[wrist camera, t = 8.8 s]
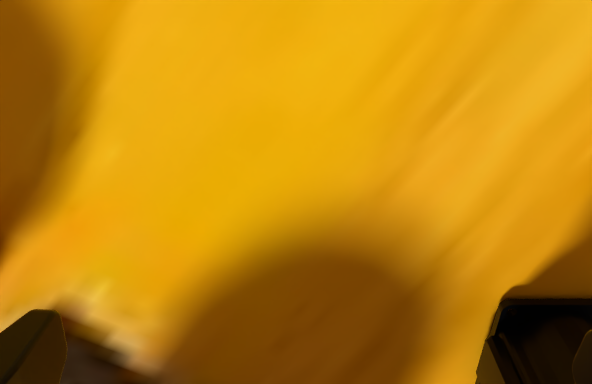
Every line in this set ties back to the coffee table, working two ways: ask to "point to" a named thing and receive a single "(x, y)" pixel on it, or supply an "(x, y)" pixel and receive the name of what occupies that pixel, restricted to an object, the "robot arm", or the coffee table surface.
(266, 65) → the coffee table surface
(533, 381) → the robot arm
